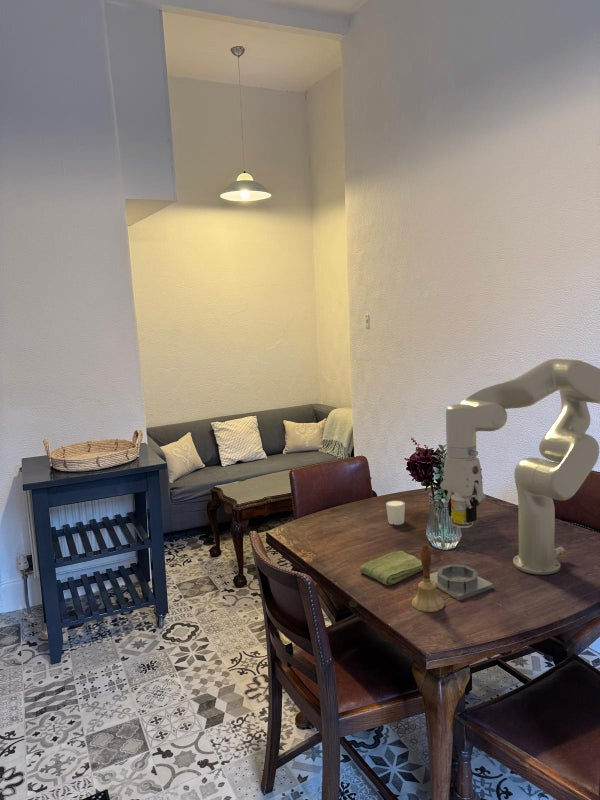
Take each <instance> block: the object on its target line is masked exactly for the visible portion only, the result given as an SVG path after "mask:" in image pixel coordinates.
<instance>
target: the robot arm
mask: <svg viewBox="0 0 600 800" xmlns="http://www.w3.org/2000/svg"><path fill="white" fill-rule="evenodd" d="M557 391H559V394H560V400H561V405H560V406H561V408H560V412H559V414H558V416H557V417H556V419H555V420H554V421H553V422H552V424H551V425H550V427H549V428H548V430H547V431H546V433H545V434H544V436H543V437H542V438H541V441H540V443H539V446H538V451H539V453H540V455H541V456H542V457H543V458H544V459H543V458H538V457H531V456H530V457H525V458H523V459H521V460H519V462H517V464H516V466H515V467H514V472H513V473H514V474H513V475H514V483H515V487H516V492H517V499H518V500H517V503H518V506H517V507H518V513H517V514H518V515H517V516H518V522H517V523H518V554H517V555H515V556H514V557H513V559H512V564H513V566H514V567H515V568H516V569H518V570H519V571H520V572H521V571H522V572H524V573H528V574H531V575H532V574H533V575H542V576H543V575H545V576H547V575H552V574H556V573H558V572H559V571H560V570H561V562H560V561H559V560H558V559H557V557H559V555H563V554H565V553H566V550H565V548H564V547H563V546H559V547H556V548H555V539H556V537H555V535H556V534H555V531H556V529H555V522H556V519H555V515H556V514H555V512H556V511H555V504H554V503H555V502H554V500H556V501H567V500H570V499H571V498H572V497H573V496H575V495H576V493H577V492H578V491H579V490H580V488H581V486H582V485H583V483H584V482H585V480H586V479H587V477H588V476H589V475H590V473H591V472H592V470H593V469H594V467H595V465H596V464H597V462H598V459H599V456H600V446H599V443H598V441H597V440H596V438H595V437H594V436H592V435H590V434H587V431H588V429H589V428H590V425H591V415H590V411H589V407H588V404H587V403H591V404H600V367H597V366H595V365H592V364H591V363H588V362H585V361H582V360H578V359H568V358H567V359H564V358H563V359H561V358H552V359H551V358H550V359H548V360H547V359H546V360H545V361H543V362H541V363H540V364H537V365H536V366H535V367H533V368H531V369H529V370H528V371H526V372H524V373H522V374H521V375H519V376H517V377H516V378H513V379H510V380H506V381H503V382H500V383H496V384H494V385H491V386H490V385H489V386H487V387H484V388H481V389H479V390H477V391H476V392H474V393H473V394H470V395H469V396H467V397H465V398H464V399H463V400H462V401H461V402H459V404H458V403H457V404H453V405H449V406H447V408H446V409H445V410H446V411H445V428H446V429H445V432H446V433H445V435H446V438H445V439H446V446H445V447H446V455H445V459H444V465H443V480H442V481H441V482H440V484H439V486H440V488H441V489H442V490H443V494H444V495H445V497H446V502H448V509H447V510H448V511H447V512H448V516H449V517H452V515H451V495H452V494H454V493H455V492H457V493H458V494H459V495H461V496H464V497H465V498H466V502H467V506H468V507H467V508H466V522H467V523H470V522H473V523H474V522H476V521H477V517H478V516H477V514H478V513H477V511H478V510H477V507H479V505H481V503H483V501H485V500H486V499H487V498H486V495H485V493H484V488H483V474H482V473H483V472H482V467H481V462H480V459H479V458H478V457H477V456H479V452H478V450H477V432H495V431H498V430H500V429H502V428H503V427H504V426H505V425H506V423H507V421H508V413H507V409H521V408H528V407H532V406H533V405H535V404H537V403H538V402H540V401H542V400H544V399H545V398H546V397H549V396H550V395H551V394H554V393H555V392H557ZM470 498H472V500H473V501H472V502H471V499H470Z"/></svg>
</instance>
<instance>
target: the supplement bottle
mask: <svg viewBox="0 0 600 800" xmlns="http://www.w3.org/2000/svg"><path fill="white" fill-rule="evenodd" d="M470 499H471V502H472V501H473V500H472V498H470ZM467 507H468V506H467V502H466V498H465V497H464V496H461V495H459V494H458V493H457V492H455V493H454V494H452V495H451V515H452V516H451V524H452V525H453V526H454V527H455V528H459V529H467V528H470V527H472V526H473V525H474V521H473V522H470V523H467V522H466V508H467Z"/></svg>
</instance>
